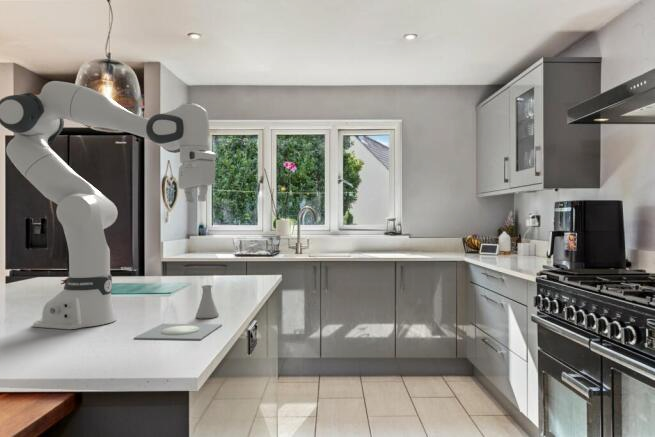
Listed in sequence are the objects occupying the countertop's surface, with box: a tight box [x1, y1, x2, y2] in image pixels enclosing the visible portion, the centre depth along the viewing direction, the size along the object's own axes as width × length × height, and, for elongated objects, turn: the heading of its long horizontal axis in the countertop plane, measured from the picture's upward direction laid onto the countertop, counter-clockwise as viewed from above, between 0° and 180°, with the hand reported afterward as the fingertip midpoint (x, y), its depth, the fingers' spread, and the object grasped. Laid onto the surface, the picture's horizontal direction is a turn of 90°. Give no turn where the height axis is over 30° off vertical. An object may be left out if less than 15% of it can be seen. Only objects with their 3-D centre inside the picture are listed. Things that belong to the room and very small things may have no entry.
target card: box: [133, 323, 223, 341], centre depth 124 cm, size 18×16×1 cm
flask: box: [195, 284, 220, 320], centre depth 144 cm, size 7×7×10 cm
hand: (195, 202), depth 138 cm, fingers open, 8 cm apart
